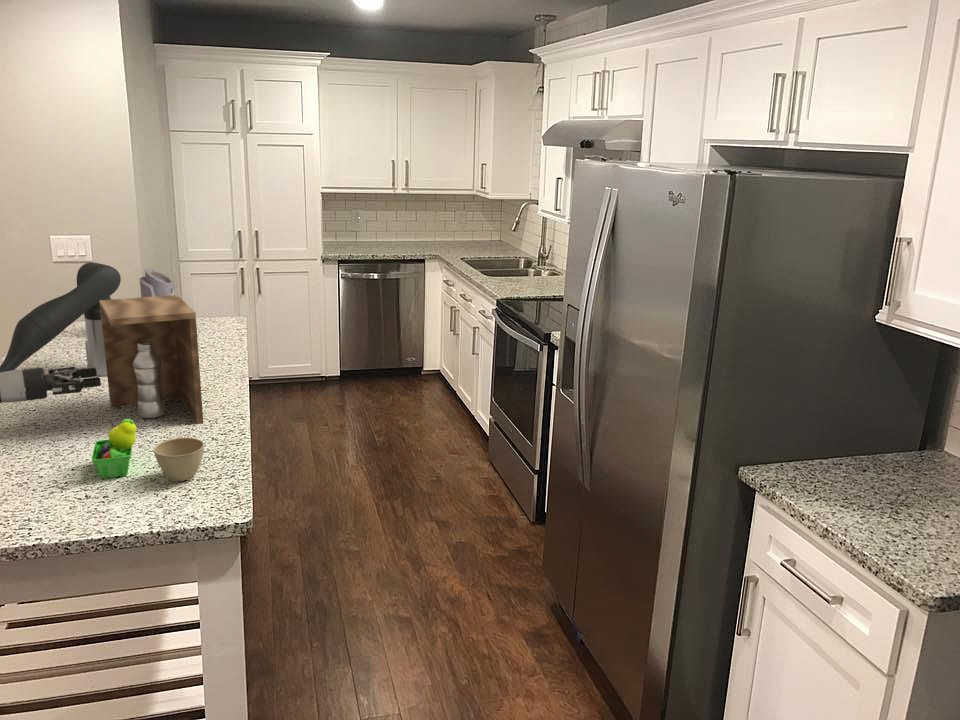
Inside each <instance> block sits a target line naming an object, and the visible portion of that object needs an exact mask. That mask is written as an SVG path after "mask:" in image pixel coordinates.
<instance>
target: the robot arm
mask: <svg viewBox="0 0 960 720" xmlns="http://www.w3.org/2000/svg"><path fill="white" fill-rule="evenodd" d="M121 278H122V277H121V274H120V272H119V271H118V270H117V269H116V268H115V267H113V266H110V265H107V264H104V263H98V262H93V261H91V262H86V263H84V264H82V265H81V266H80V267H79V269H78V270H77V273H76V286H75V288H73V289H72V290H70V291H68V292H67V293H65V294H62V295H60V296H58V297H55V298H52V299H50V300H48V301H46V302H44V303H41V304H39V305H38V306H36V307H35V308H34V309H32V310H31V311H30V312H28V313H27V314H25V316H23V317H22V318H20V319H19V321H17V323H16V326H15V328H14V331H13V334H12V337H11V341H10V345H9V348H8V351H7V353H6V356H5V357H4V360H2V363H1V364H0V404H1V403H2V404H3V403H4V404H5V403H19V402H28V401H36V400H43V399H47V398H48V392H49V391H51V392H52V395H53V396H58V395H67V394H76V393H79V394H80V393H81V392H82V391H83V390H84V389H88V388H96V387H97V388H98V387H101V386H102V383H101V377H102V376H103V377H105V376H106V377H107V369H106V360H105V350H104V341H103V332H102V322H101V313H100V304H99V300H111V299H112V298H111V296H112V295H113V294H114V293H116V291H117V290H118V289H119V287H120V285H121V281H122V279H121ZM81 316H84V323H85V324H84V325H85V331H86V333H85V334H86V341H85V342H84V343H85V344H84V345H85V354H86V361H87V368H78V367H75V366H68V367H62V368H54V369H48V373H47V374H45V370H44V369H45V368H43V367H33V368H32V367H31V368H23V369H17V368H19V367H20V366H21V365H22V364H23V363H24V362H26V361H27V360H28V359H29V358H31V357H32V356H33V355H35V353H37V352H38V351H39V350H41V349H43V348H44V347H45V346H46V345H48V344H49V343H50V342H52V341H53V340H54V339H55V338H56V337H58V336H59V335H60V334H61V333H62V332H64V331H65V329H67V328H68V327H69V326H70V325H72V324H73V323H75V322H76V321H77V320H78V319H79V318H80V317H81ZM100 376H101V377H100Z"/></svg>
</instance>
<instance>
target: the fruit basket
mask: <svg viewBox="0 0 960 720" xmlns="http://www.w3.org/2000/svg"><path fill="white" fill-rule="evenodd" d="M136 432H137V426H136V424H135V423H134V420H132V419H130V418H124V419H123V420H121V422H120V423H119V424H118V425H117V426H114V428H112V429H111V430H110V431H109V432H108V436H107V437H108V439H102V440H97V441H95V443H94V448H93V452H92V455H91V462H92V464H93V465H94V466H95V469H96V471H97V474H98V476H99V478H100V479H101V478H105V479H110V478H109V477H114V478H119V477H118V476H120V477H127V476H128V473H129V467H130V459H131V458H132V452H133V451H132V450H133V445H134V444H135V443H136V438H137V433H136ZM126 475H127V476H126ZM106 477H108V478H106Z"/></svg>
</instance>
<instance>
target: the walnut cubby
mask: <svg viewBox="0 0 960 720" xmlns="http://www.w3.org/2000/svg"><path fill="white" fill-rule="evenodd" d="M111 299H112V298H111ZM99 304H100V313H101V322H102V332H103V341H104V350H105V360H106V369H107V376H106V378H107V387H108V388H107V389H108V396H109V404H110V405H109V406H110V409H115V408H114V407H117V408H122V407H121V406H124V407H130V406H129V405H132V406H137V404H138V385H137V384H138V383H137V379H136V374H135V371H134V367H133V360H134V358H135V356H136V355H137V353H138V352H139V351H138V350H137V348H138V346H137V343H138V342H140V341H153V347H154V349H153V352H154V353H155V354H156V355H157V356H158V357H159V359H160V361H161V365H160V366H161V367H160V387H161V392H162V398H163V400H164V402H167V401H168V402H169V401H175V400H181V402H182V404H183V405H184V406H185V408H186V409H187V411H188V412H189V414H190V415H191V417H192V418H193V420H194V421H195V422H196V424H197V425H199V424H204V414H203V399H202V398H203V396H202V385H201V372H200V371H201V370H200V357H199V343H198V342H199V341H198V329H197V328H198V326H197V316H196V311H195V310H193V308H191V306H190V305H188V304H187V303H186V302H185V301H184V300H183V299H182V298H181V297H180V296H179V295H178V294H175V295H169V296H155V297H141V296H140V297H130V298H127V297H126V298H116V299H115V298H113V299H112V300H99Z"/></svg>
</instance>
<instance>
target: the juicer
mask: <svg viewBox="0 0 960 720" xmlns="http://www.w3.org/2000/svg"><path fill="white" fill-rule="evenodd" d="M139 286H140V287H139V288H140V297H155V296H169V295H176V289H175V288H176V283H175V282H174V280H173V279H171V278H170V277H169V276H167V275H165V274H163V273H161V272H159V271H156V270H154V269H152V268H145V269H144V276H142V277H140V278H139ZM111 300H112V298H111Z"/></svg>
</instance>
